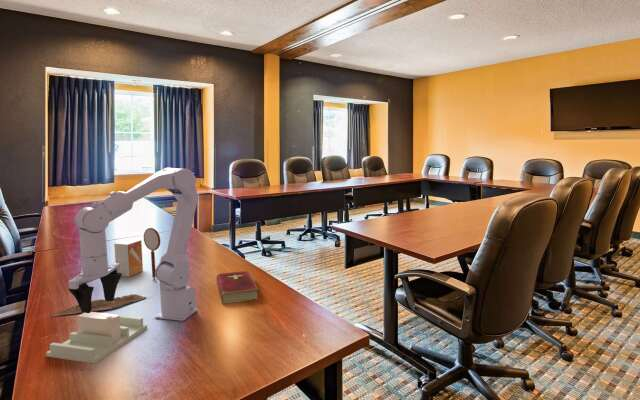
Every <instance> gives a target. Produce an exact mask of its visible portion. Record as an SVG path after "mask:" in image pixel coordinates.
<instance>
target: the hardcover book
mask: <svg viewBox="0 0 640 400" xmlns="http://www.w3.org/2000/svg"><path fill="white" fill-rule="evenodd" d="M216 283H217V288H218V292H219V297H220V301H221V304H222V305H224V304H230V303H238V302H245V301H246V302H247V301H254V300H253V299H255V300H258V291H259V287H258V286H257V284H256V281H255V280H254V278H253V276H252V273H251V272H250V270H241V271H229V272H221V273H216Z"/></svg>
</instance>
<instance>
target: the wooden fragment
mask: <svg viewBox="0 0 640 400" xmlns="http://www.w3.org/2000/svg"><path fill="white" fill-rule="evenodd" d="M143 299H146V297H145V296H142V295H139V294H129V295H127V294H126V295H123V296H120V297H118V296H117V297H114V300H113V301H105V299H96V300H91V312H98V311H105V310H110V311H111V310H114V309H116V308H120V307H123V306H126V305H128V304H131V303H134V302H138V301H141V300H143ZM75 314H82V311H81V308H80V306H79V304H75V305H73V306H71V307H69V308H66V309H65V310H64V311H63V310H62V311H60V312H57V313H55V314H54V315H52V316H51V317H58V316H65V315H75Z"/></svg>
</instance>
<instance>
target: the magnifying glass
mask: <svg viewBox="0 0 640 400" xmlns="http://www.w3.org/2000/svg"><path fill="white" fill-rule="evenodd" d="M143 242H144V245H145V246H146V248H147V249H148V250H150V251H151V252H150V256H151V257H150V258H151V274H152V275H151V277H152V279H153V280H155V279H156V277H155V270H156V257H155V255H156V254H155V251H157V250H158V249H159V248H160V245H161V236H160V233H159V232H158V231H157V230H156V229H155V228H153V227H149V228H147V229H145V231H144V233H143Z"/></svg>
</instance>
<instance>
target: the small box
mask: <svg viewBox="0 0 640 400" xmlns="http://www.w3.org/2000/svg"><path fill="white" fill-rule="evenodd" d="M113 245H114V259H115V261H114V263H116V264H120V271H117V272H118V273H121V277H128V278H129V277H132V276H133V275H136V274H139V273H141V272H143V271H144V268H143V267H144V266H143V265H144V264H143V263H144V262H143V249H142V246H143V244H142V240H141V239H132V238H128V239H125V240H122V241H119V242H115V243H114V244H113Z"/></svg>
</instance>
